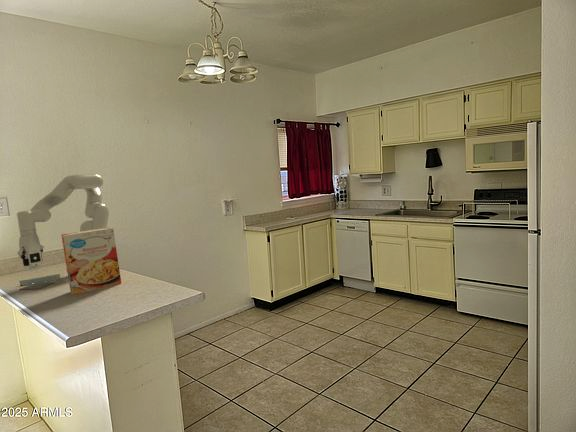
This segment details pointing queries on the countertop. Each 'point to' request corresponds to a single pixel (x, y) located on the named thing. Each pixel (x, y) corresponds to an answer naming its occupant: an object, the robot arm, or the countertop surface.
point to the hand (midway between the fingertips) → (33, 263)
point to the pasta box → (91, 260)
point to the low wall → (40, 279)
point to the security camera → (34, 260)
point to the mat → (37, 285)
